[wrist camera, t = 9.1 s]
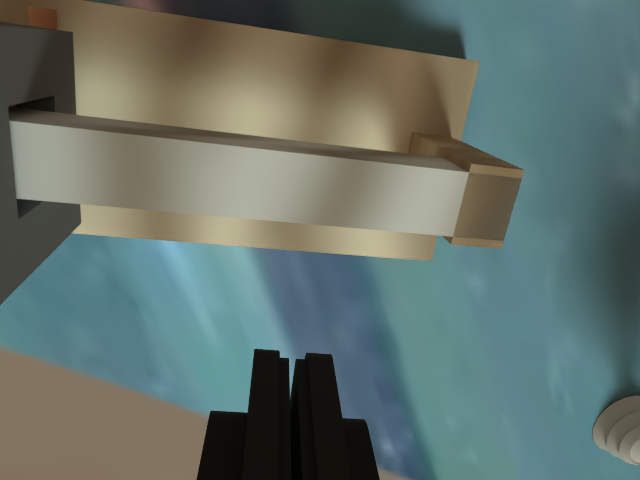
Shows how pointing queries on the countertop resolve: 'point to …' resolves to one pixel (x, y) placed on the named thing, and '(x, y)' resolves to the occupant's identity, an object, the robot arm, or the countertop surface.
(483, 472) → the countertop surface
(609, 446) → the chalice
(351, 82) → the pipe rig
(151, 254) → the countertop surface
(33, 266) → the collar
